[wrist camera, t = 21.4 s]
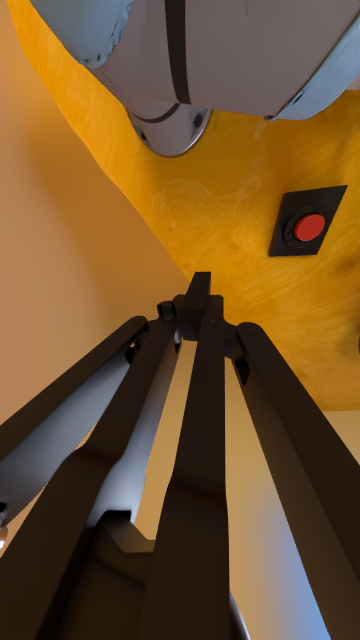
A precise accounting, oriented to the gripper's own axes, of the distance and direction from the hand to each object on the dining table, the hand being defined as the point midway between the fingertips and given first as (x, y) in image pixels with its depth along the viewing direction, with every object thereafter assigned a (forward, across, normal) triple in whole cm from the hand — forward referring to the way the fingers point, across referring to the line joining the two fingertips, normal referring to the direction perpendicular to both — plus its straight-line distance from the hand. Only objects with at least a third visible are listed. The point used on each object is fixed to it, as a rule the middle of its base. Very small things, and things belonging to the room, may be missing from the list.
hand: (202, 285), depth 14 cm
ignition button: (+23, +17, +1) cm, 29 cm away
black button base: (+26, +17, +2) cm, 31 cm away
